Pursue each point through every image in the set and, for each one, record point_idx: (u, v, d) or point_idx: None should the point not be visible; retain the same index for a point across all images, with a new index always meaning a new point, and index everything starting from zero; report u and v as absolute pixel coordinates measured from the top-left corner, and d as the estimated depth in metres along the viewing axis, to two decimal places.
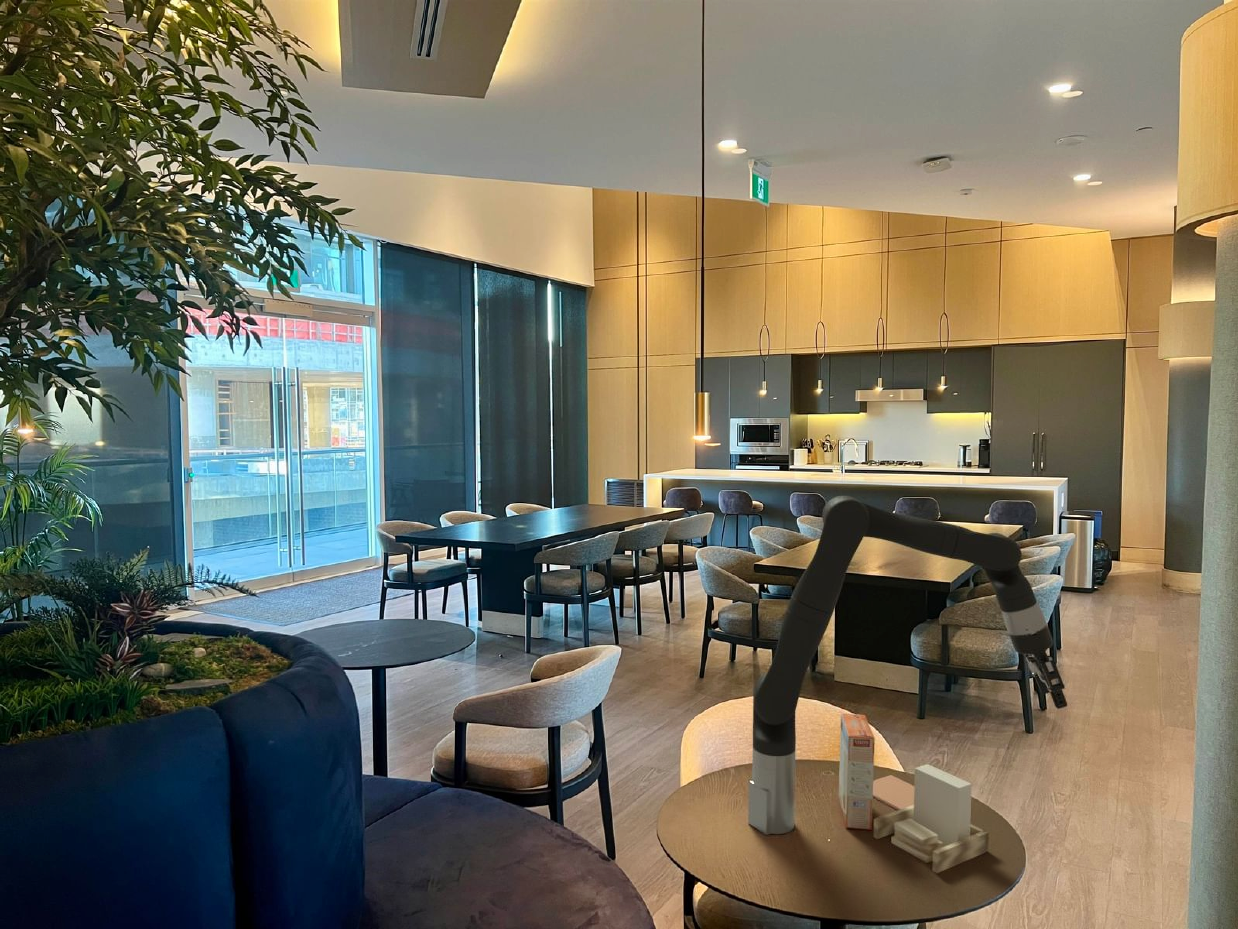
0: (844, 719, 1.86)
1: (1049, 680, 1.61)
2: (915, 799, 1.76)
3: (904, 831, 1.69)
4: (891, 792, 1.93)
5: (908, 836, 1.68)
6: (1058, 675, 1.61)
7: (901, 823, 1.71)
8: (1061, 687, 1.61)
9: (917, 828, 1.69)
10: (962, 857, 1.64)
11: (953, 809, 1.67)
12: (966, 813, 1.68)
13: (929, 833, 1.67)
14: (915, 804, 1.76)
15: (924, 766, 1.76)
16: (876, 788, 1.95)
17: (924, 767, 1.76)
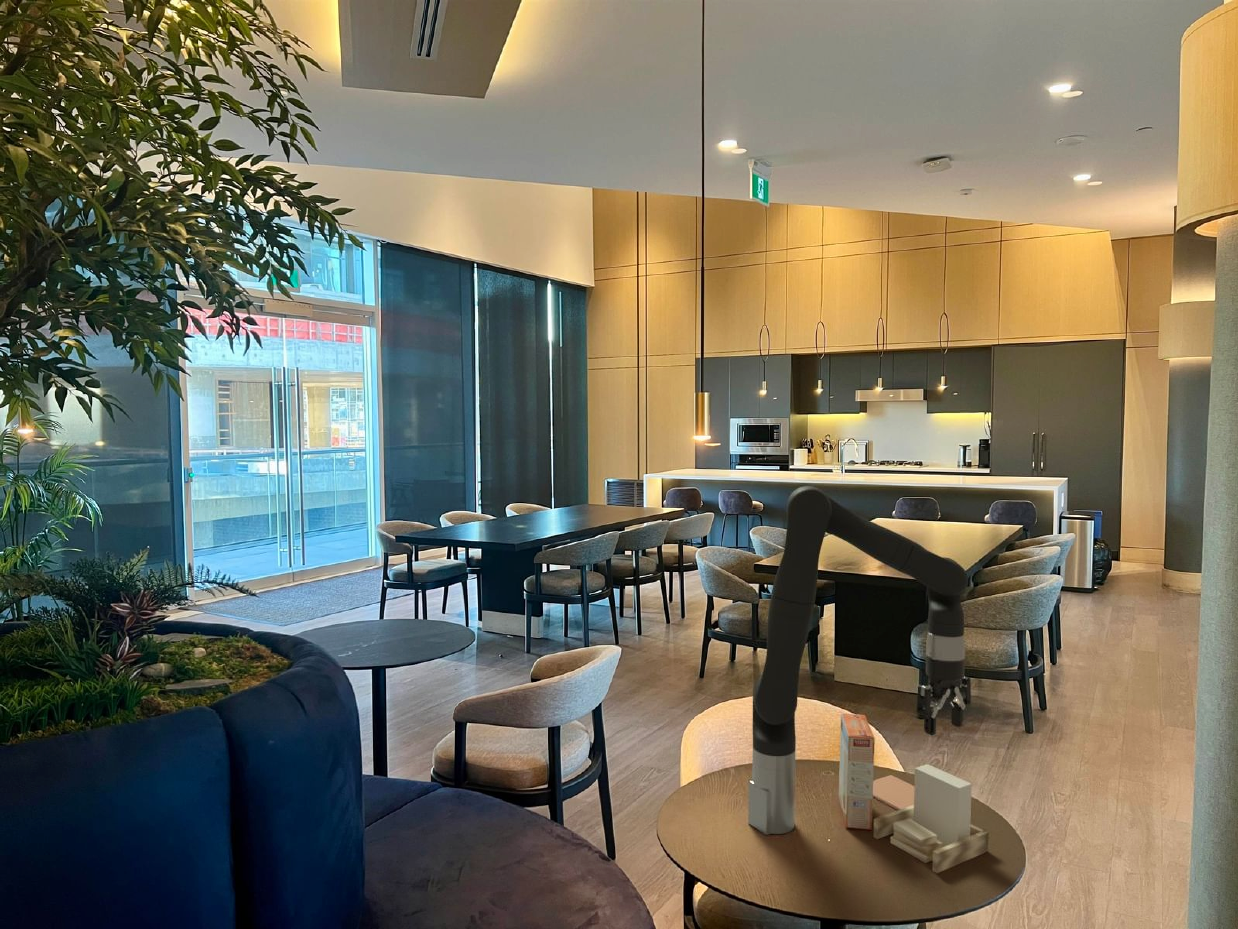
0: (844, 719, 1.86)
1: (917, 701, 1.68)
2: (915, 799, 1.76)
3: (903, 831, 1.69)
4: (891, 792, 1.93)
5: (907, 836, 1.68)
6: (925, 702, 1.67)
7: (900, 823, 1.71)
8: (924, 713, 1.67)
9: (916, 828, 1.69)
10: (962, 857, 1.64)
11: (954, 809, 1.67)
12: (966, 813, 1.68)
13: (928, 833, 1.67)
14: (915, 804, 1.76)
15: (924, 766, 1.76)
16: (876, 788, 1.95)
17: (924, 767, 1.76)
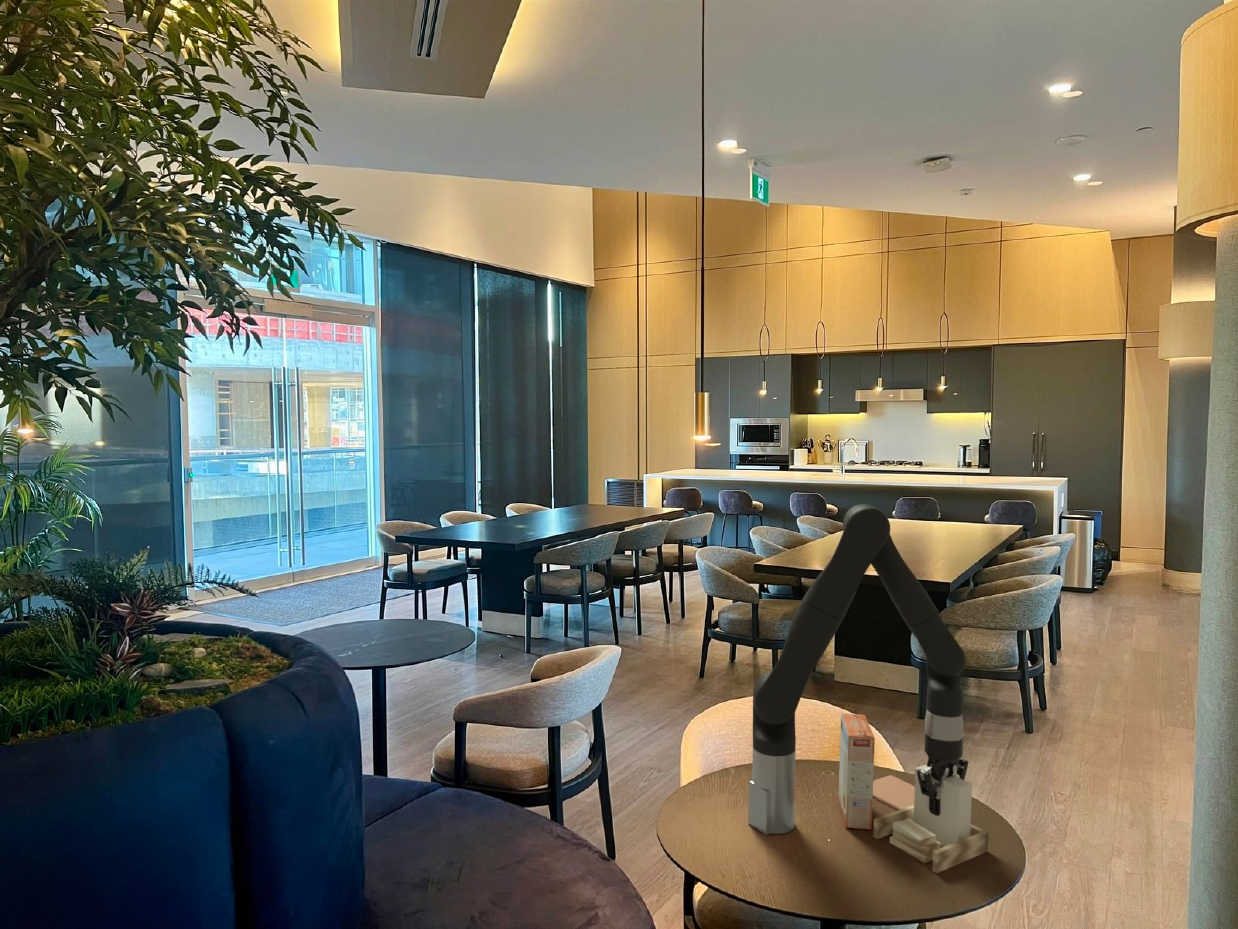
0: (844, 719, 1.86)
1: (920, 785, 1.70)
2: (915, 799, 1.76)
3: (902, 831, 1.69)
4: (891, 792, 1.93)
5: (906, 836, 1.68)
6: (927, 787, 1.68)
7: (899, 823, 1.71)
8: (928, 795, 1.69)
9: (915, 828, 1.69)
10: (962, 857, 1.64)
11: (954, 809, 1.67)
12: (966, 813, 1.68)
13: (927, 833, 1.67)
14: (915, 804, 1.76)
15: (924, 766, 1.76)
16: (876, 788, 1.95)
17: (924, 767, 1.76)
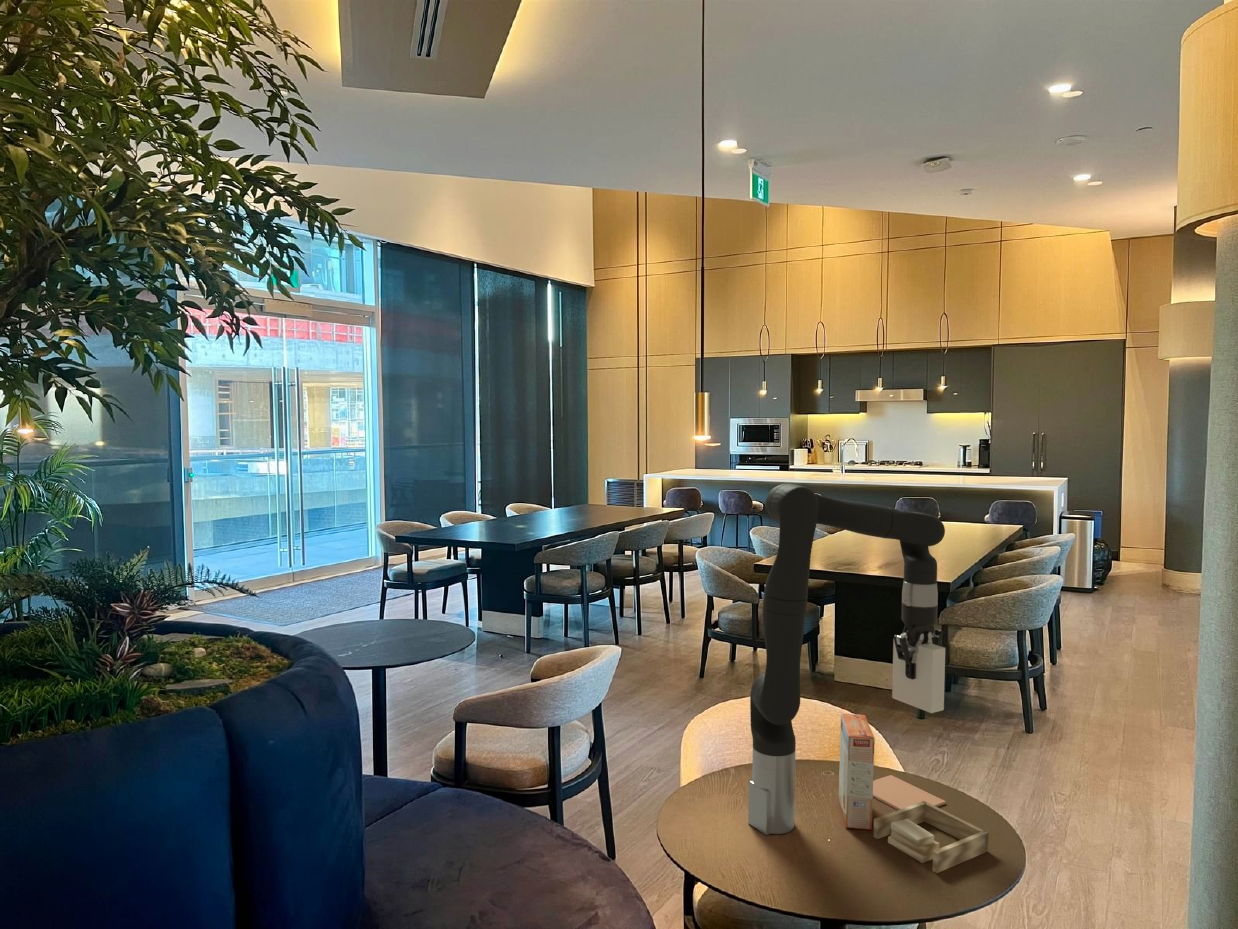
0: (844, 719, 1.86)
1: (897, 650, 1.81)
2: (894, 667, 1.87)
3: (900, 830, 1.69)
4: (891, 792, 1.93)
5: (904, 836, 1.68)
6: (903, 650, 1.79)
7: (898, 823, 1.71)
8: (904, 659, 1.80)
9: (913, 828, 1.69)
10: (962, 857, 1.64)
11: (928, 670, 1.78)
12: (940, 675, 1.79)
13: (925, 833, 1.67)
14: (894, 672, 1.87)
15: None
16: (876, 788, 1.95)
17: None
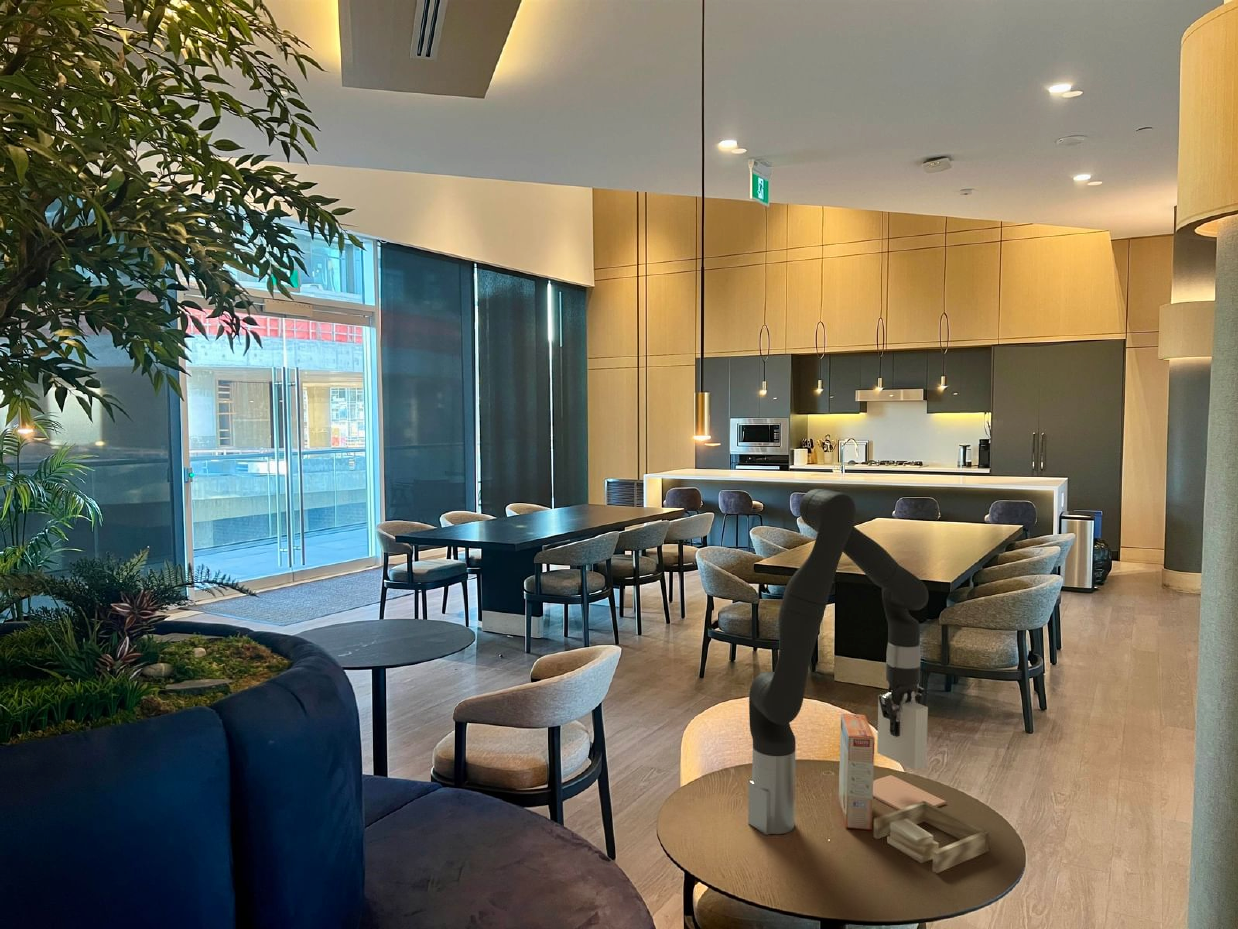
0: (844, 719, 1.86)
1: (882, 709, 1.89)
2: (879, 724, 1.95)
3: (899, 830, 1.69)
4: (891, 792, 1.93)
5: (903, 836, 1.68)
6: (888, 710, 1.87)
7: (897, 823, 1.71)
8: (889, 717, 1.88)
9: (912, 828, 1.69)
10: (962, 857, 1.64)
11: (911, 729, 1.87)
12: (923, 733, 1.87)
13: (924, 833, 1.67)
14: (879, 728, 1.95)
15: None
16: (876, 788, 1.95)
17: None
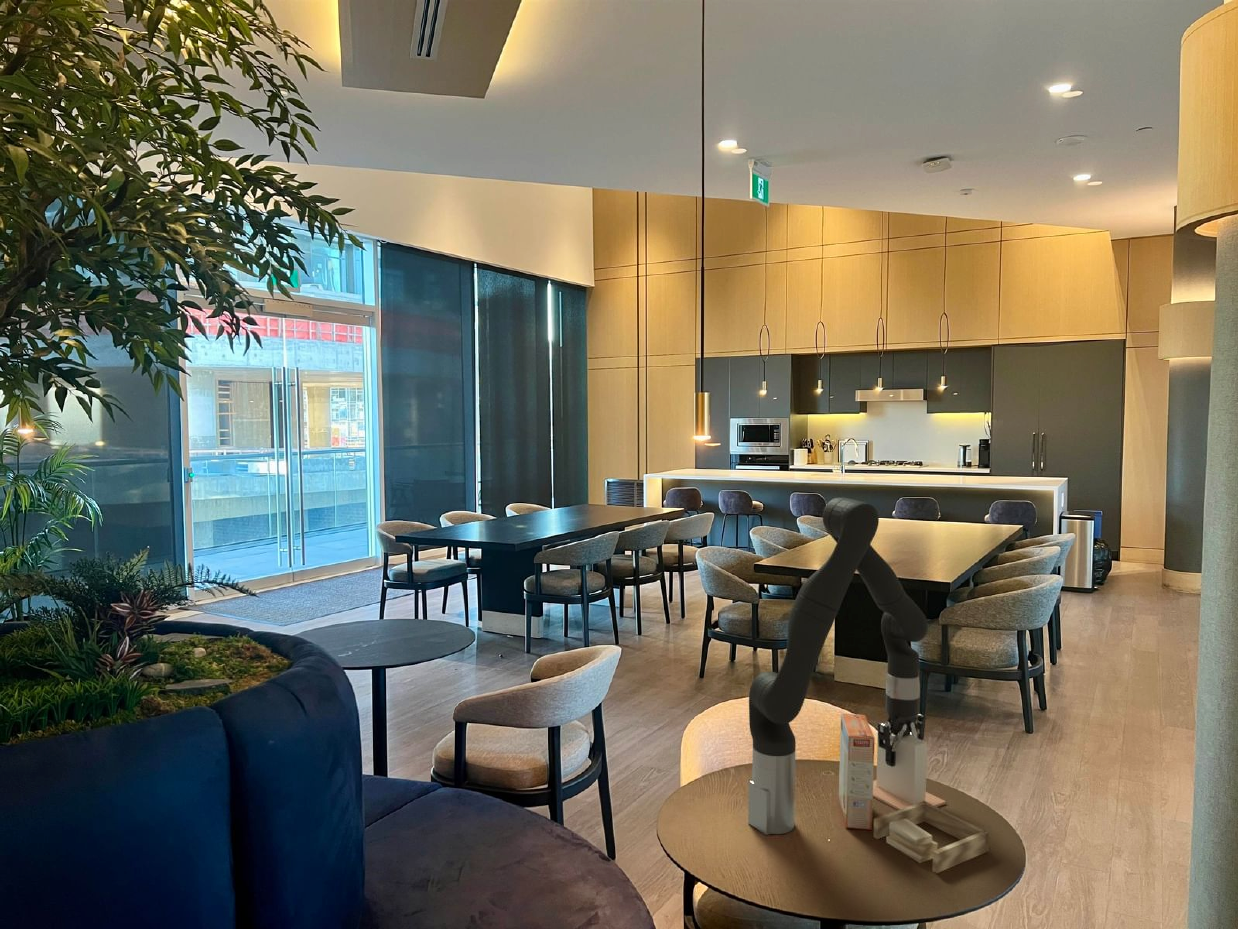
0: (844, 719, 1.86)
1: (878, 737, 1.89)
2: (878, 757, 1.95)
3: (898, 830, 1.69)
4: None
5: (902, 836, 1.68)
6: (885, 738, 1.87)
7: (896, 823, 1.71)
8: (885, 748, 1.88)
9: (911, 828, 1.69)
10: (962, 857, 1.64)
11: (911, 764, 1.87)
12: (922, 768, 1.88)
13: (923, 833, 1.67)
14: (878, 762, 1.95)
15: None
16: (876, 788, 1.95)
17: None
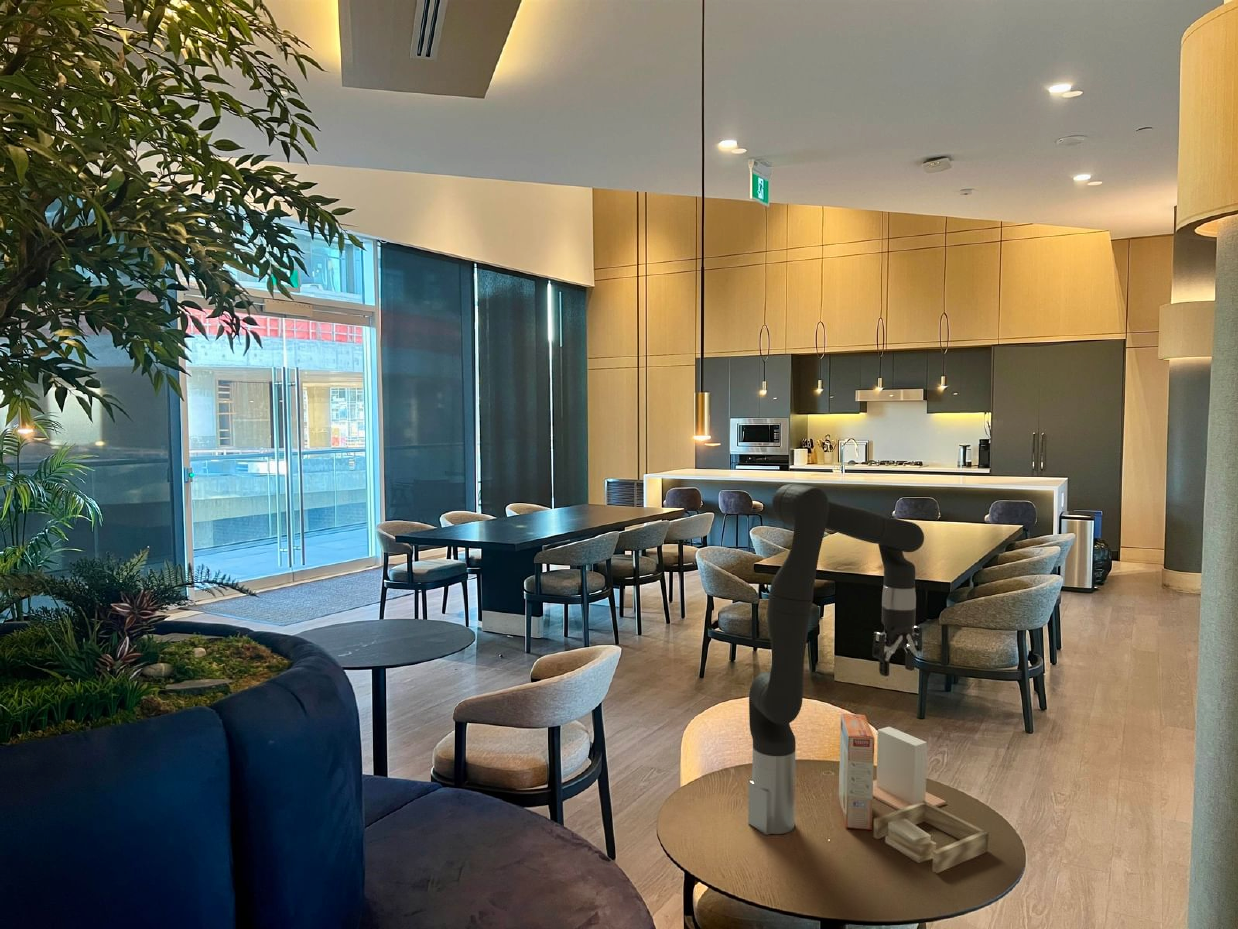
0: (844, 719, 1.86)
1: (873, 646, 1.89)
2: (878, 757, 1.95)
3: (897, 830, 1.69)
4: None
5: (901, 836, 1.68)
6: (880, 646, 1.88)
7: (895, 823, 1.71)
8: (878, 656, 1.88)
9: (910, 828, 1.69)
10: (962, 857, 1.64)
11: (911, 764, 1.87)
12: (922, 768, 1.88)
13: (922, 833, 1.67)
14: (878, 762, 1.95)
15: (886, 728, 1.96)
16: (876, 788, 1.95)
17: (886, 729, 1.96)
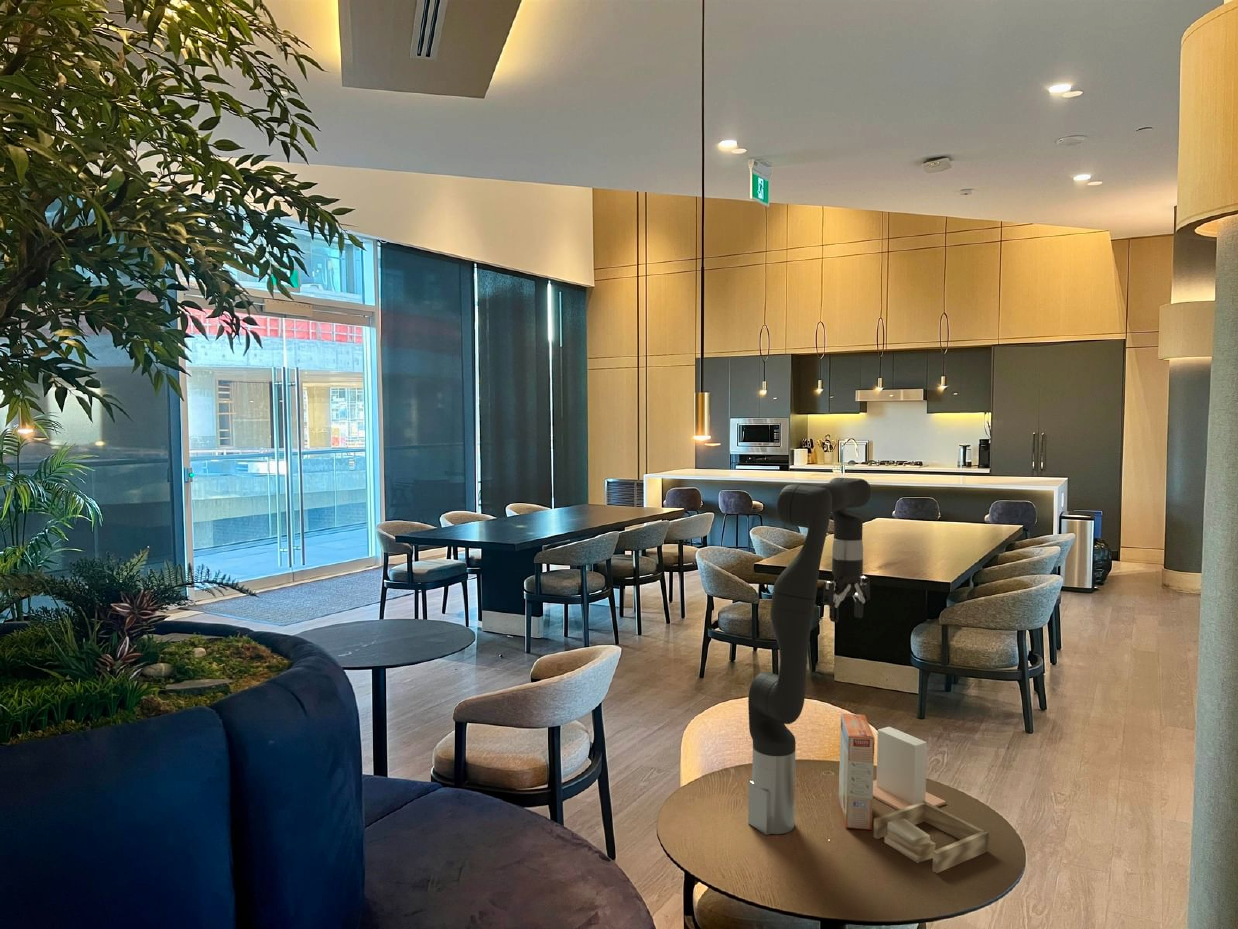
0: (844, 719, 1.86)
1: (823, 594, 2.04)
2: (878, 757, 1.95)
3: (896, 830, 1.69)
4: None
5: (900, 836, 1.68)
6: (829, 594, 2.02)
7: (894, 823, 1.71)
8: (828, 603, 2.03)
9: (909, 828, 1.69)
10: (962, 857, 1.64)
11: (911, 764, 1.87)
12: (922, 768, 1.88)
13: (921, 833, 1.67)
14: (878, 762, 1.95)
15: (886, 728, 1.96)
16: (876, 788, 1.95)
17: (886, 729, 1.96)
